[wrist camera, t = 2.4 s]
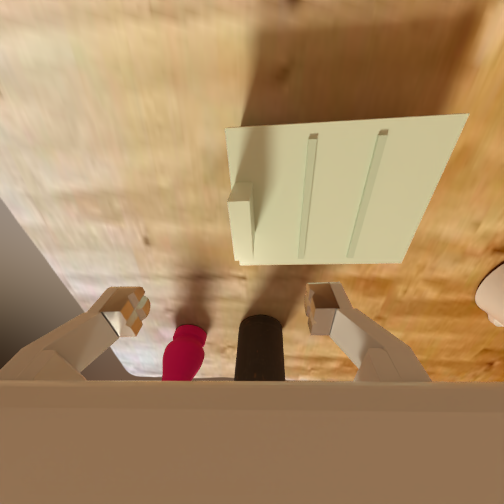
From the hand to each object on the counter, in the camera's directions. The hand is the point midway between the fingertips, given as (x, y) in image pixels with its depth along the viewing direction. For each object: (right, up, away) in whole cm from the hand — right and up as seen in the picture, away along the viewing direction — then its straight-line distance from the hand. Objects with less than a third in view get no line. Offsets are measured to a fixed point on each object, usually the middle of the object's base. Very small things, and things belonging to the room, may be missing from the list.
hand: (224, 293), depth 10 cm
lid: (+8, +6, +9) cm, 14 cm away
